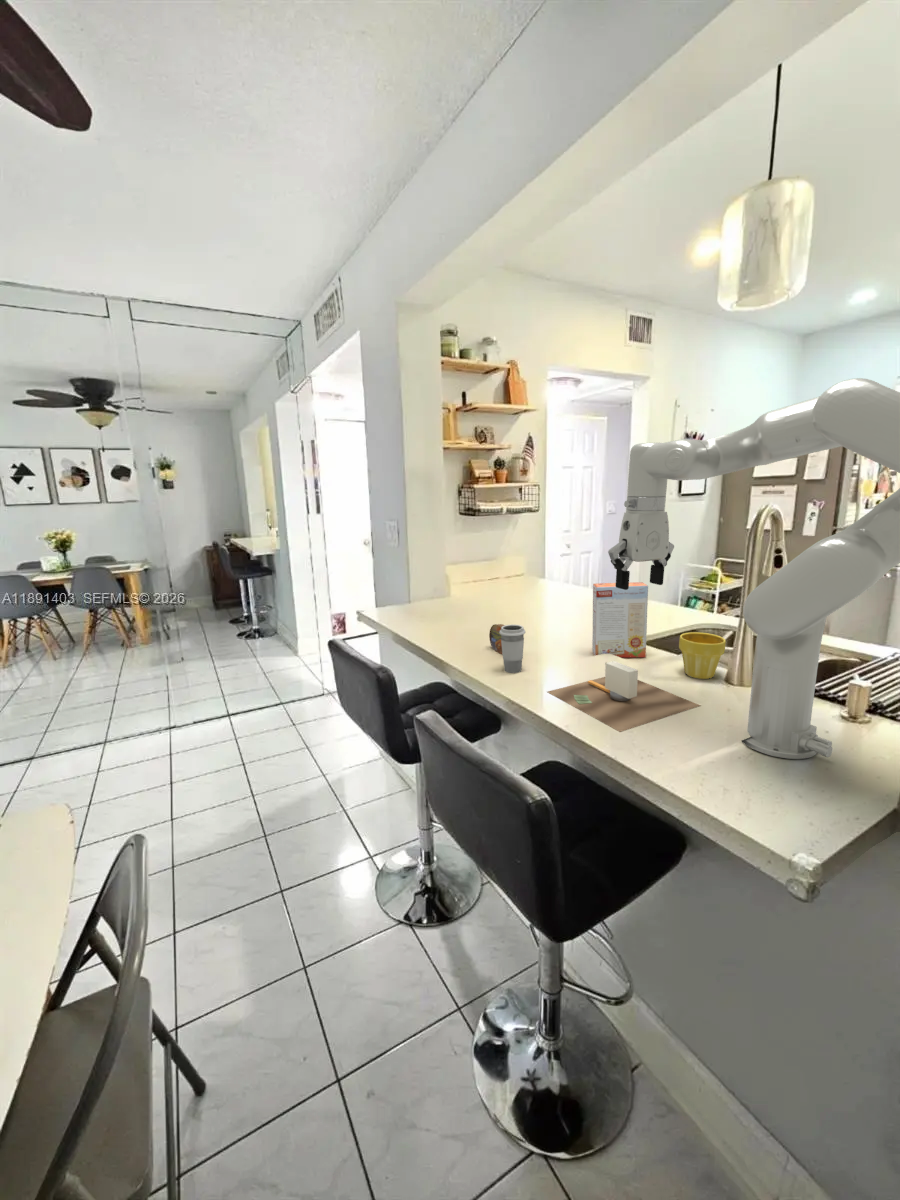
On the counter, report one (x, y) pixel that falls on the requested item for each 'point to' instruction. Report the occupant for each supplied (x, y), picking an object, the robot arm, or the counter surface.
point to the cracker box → (620, 620)
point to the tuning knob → (619, 681)
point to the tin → (496, 637)
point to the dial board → (623, 704)
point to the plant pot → (701, 653)
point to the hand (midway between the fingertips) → (639, 586)
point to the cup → (512, 647)
